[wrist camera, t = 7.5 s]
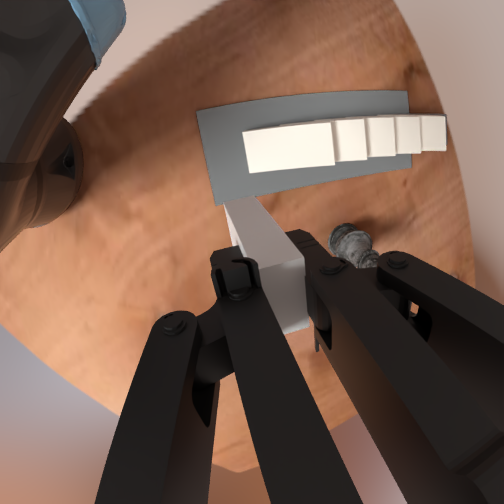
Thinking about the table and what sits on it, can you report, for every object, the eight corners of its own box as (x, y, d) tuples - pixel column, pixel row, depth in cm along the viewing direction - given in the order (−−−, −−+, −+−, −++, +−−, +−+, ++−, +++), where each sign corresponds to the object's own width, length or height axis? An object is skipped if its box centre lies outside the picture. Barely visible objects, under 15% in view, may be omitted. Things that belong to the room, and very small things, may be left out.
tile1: (249, 173, 35) (335, 165, 33) (242, 132, 33) (330, 122, 31) (251, 170, 37) (333, 162, 35) (244, 130, 34) (329, 121, 32)
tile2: (285, 166, 36) (367, 159, 34) (279, 125, 34) (363, 119, 31) (286, 163, 37) (364, 157, 35) (280, 124, 35) (361, 118, 33)
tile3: (319, 160, 36) (395, 156, 34) (314, 121, 34) (393, 117, 32) (318, 157, 38) (392, 153, 36) (313, 119, 35) (389, 116, 33)
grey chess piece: (360, 218, 44) (409, 253, 33) (359, 252, 46) (403, 293, 36) (325, 225, 43) (369, 265, 32) (326, 261, 46) (365, 306, 35)
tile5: (382, 151, 37) (446, 150, 35) (379, 115, 35) (445, 116, 33) (379, 149, 39) (441, 148, 36) (377, 114, 36) (440, 115, 34)
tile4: (350, 155, 37) (420, 153, 35) (346, 118, 35) (419, 116, 32) (348, 153, 38) (417, 151, 36) (345, 117, 36) (415, 115, 34)
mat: (215, 205, 38) (215, 206, 38) (195, 111, 33) (195, 111, 32) (409, 167, 42) (411, 167, 41) (405, 90, 36) (407, 90, 36)
